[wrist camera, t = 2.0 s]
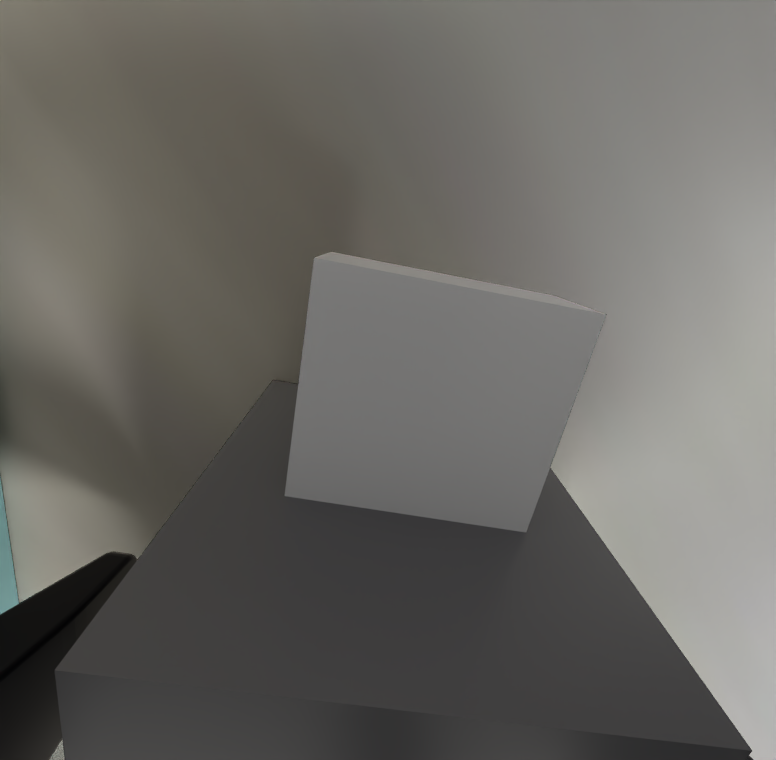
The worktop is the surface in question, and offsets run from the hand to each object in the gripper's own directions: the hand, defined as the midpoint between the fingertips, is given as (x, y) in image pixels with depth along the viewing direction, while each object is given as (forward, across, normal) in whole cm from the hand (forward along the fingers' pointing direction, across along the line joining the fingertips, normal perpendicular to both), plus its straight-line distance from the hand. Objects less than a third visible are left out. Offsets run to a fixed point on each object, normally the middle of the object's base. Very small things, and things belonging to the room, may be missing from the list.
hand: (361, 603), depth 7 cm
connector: (+1, 0, 0) cm, 1 cm away
